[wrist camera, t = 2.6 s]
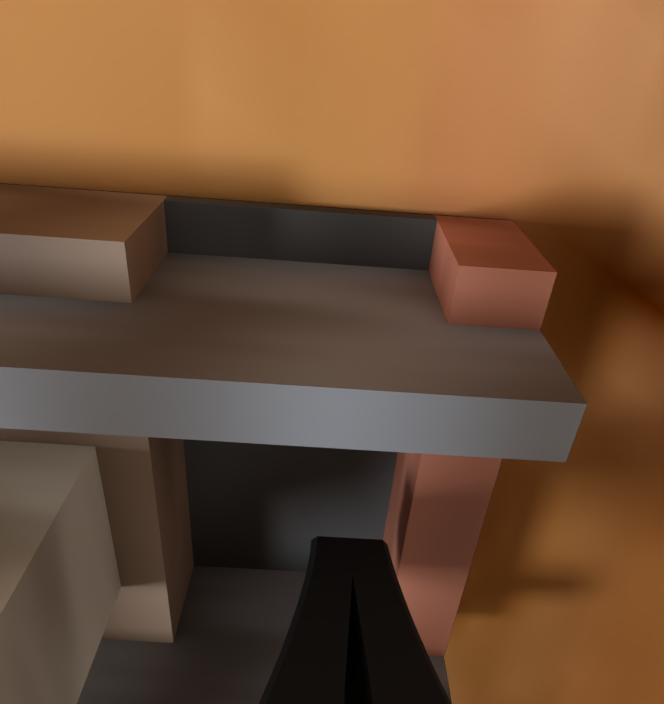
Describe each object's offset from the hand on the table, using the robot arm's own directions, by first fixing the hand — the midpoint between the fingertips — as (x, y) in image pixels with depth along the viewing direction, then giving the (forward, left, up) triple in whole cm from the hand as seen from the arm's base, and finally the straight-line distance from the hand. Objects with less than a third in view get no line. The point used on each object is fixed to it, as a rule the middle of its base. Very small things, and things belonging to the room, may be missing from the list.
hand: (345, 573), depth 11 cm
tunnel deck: (-6, 0, -3) cm, 7 cm away
